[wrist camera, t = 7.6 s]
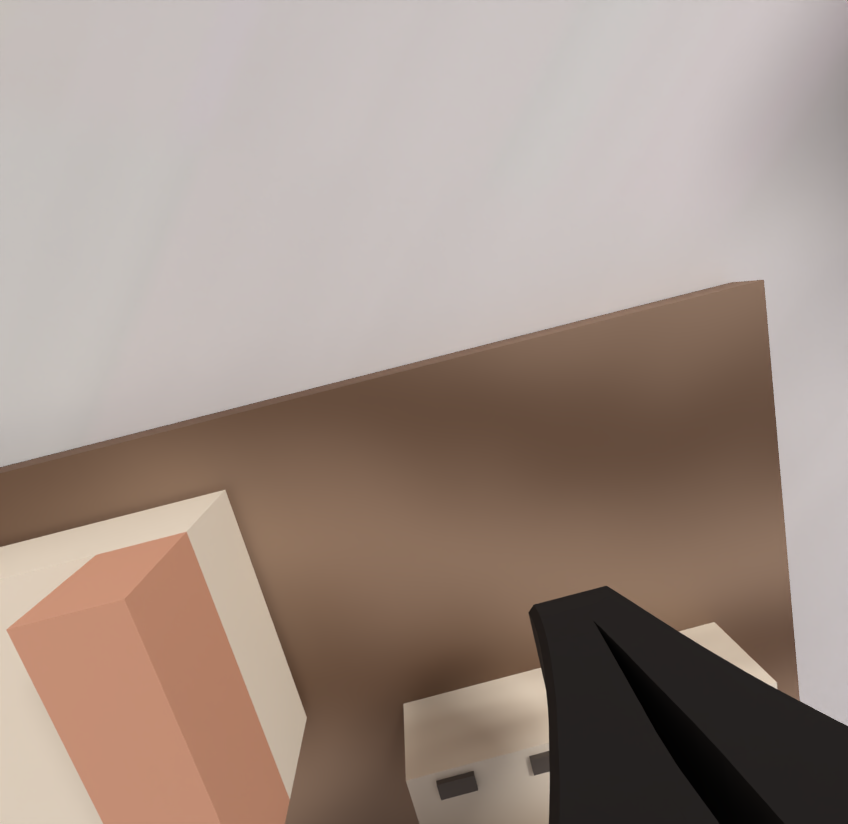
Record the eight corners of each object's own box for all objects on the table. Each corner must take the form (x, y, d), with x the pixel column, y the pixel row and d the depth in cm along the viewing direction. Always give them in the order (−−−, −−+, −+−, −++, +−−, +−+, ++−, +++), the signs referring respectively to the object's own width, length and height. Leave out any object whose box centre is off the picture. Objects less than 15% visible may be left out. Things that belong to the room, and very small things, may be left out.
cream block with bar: (306, 717, 12) (264, 923, 8) (-21, 803, 12) (-231, 1056, 8) (224, 489, 10) (124, 598, 6) (-145, 584, 10) (-476, 754, 6)
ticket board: (783, 807, 15) (884, 935, 12) (145, 979, 15) (81, 1155, 12) (731, 282, 11) (856, 272, 8) (-108, 494, 11) (-296, 564, 8)
